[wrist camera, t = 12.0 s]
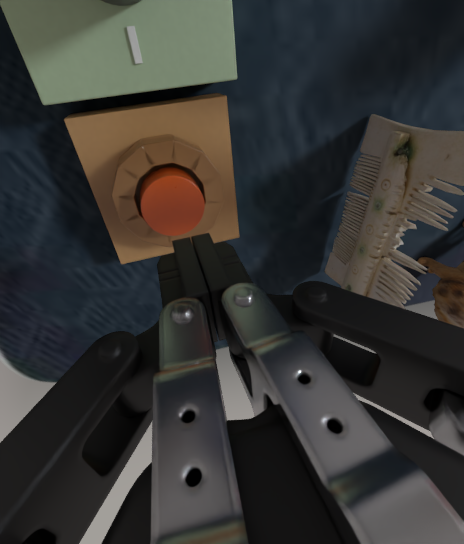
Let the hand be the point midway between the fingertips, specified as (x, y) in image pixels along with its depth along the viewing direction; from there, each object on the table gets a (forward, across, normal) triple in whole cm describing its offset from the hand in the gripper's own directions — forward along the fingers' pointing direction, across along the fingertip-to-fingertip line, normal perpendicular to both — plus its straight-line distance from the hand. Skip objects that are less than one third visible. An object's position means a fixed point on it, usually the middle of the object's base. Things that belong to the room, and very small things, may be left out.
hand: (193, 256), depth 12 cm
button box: (+11, 0, 0) cm, 11 cm away
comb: (+11, -15, +5) cm, 19 cm away
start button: (+8, 0, 0) cm, 8 cm away
